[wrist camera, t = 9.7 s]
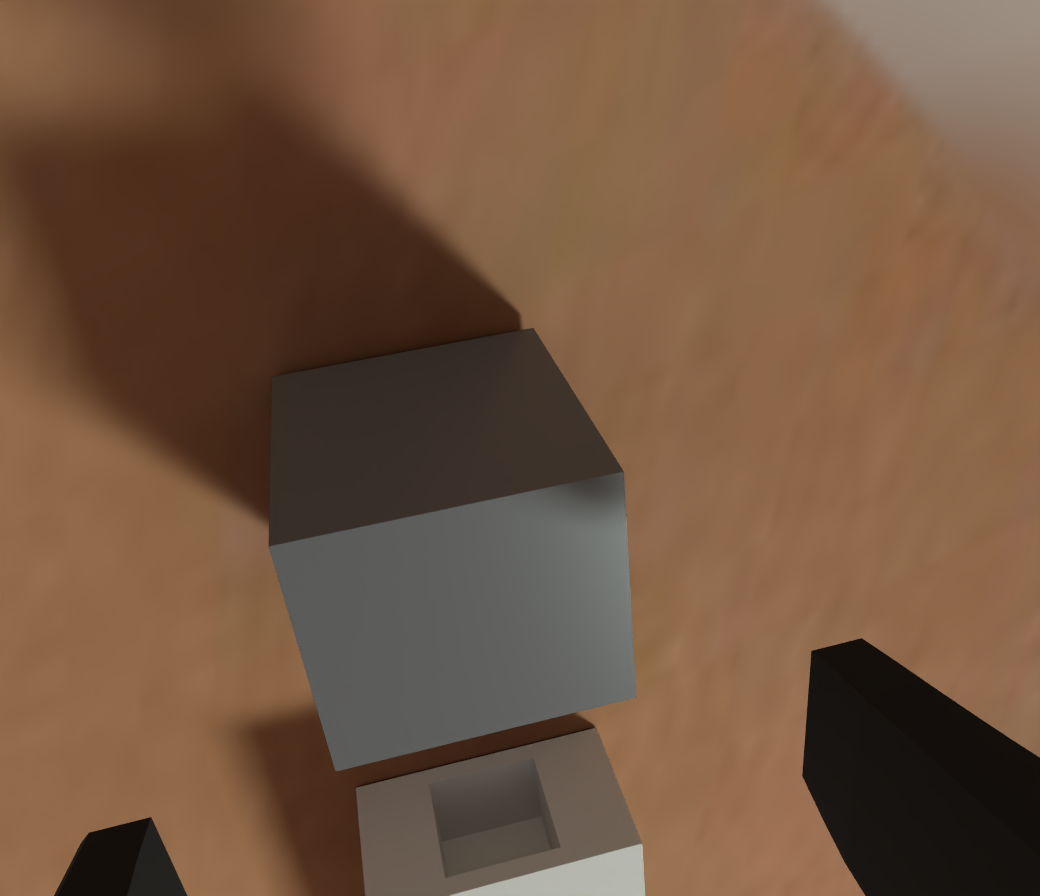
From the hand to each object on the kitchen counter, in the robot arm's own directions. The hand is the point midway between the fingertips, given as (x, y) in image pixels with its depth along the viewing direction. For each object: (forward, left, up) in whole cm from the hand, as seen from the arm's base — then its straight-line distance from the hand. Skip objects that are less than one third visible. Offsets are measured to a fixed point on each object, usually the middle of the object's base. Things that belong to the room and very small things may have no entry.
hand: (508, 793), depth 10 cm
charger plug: (+1, 0, -8) cm, 8 cm away
